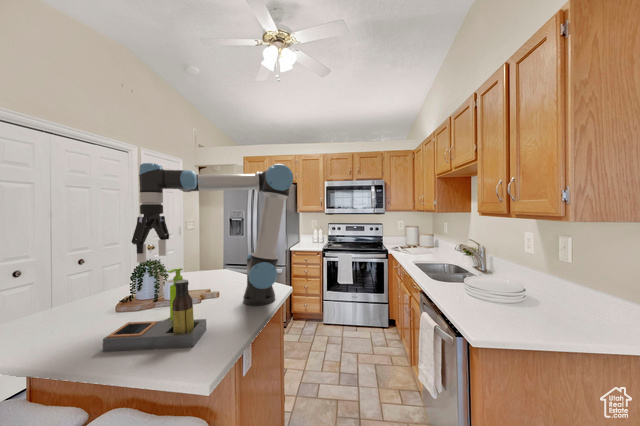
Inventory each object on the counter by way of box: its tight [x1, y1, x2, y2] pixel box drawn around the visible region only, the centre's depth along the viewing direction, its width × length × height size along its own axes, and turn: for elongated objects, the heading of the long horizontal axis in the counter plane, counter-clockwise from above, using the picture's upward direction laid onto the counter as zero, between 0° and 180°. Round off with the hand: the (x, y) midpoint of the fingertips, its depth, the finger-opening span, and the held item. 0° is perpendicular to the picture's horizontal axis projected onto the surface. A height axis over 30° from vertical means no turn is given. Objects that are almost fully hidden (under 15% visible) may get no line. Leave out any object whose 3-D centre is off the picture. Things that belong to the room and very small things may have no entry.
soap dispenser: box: [167, 267, 184, 321], centre depth 105 cm, size 6×7×20 cm
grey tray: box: [102, 318, 207, 353], centre depth 87 cm, size 27×12×4 cm, turn 95°
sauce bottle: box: [172, 279, 195, 333], centre depth 87 cm, size 6×6×20 cm
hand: (152, 258), depth 99 cm, fingers open, 13 cm apart
